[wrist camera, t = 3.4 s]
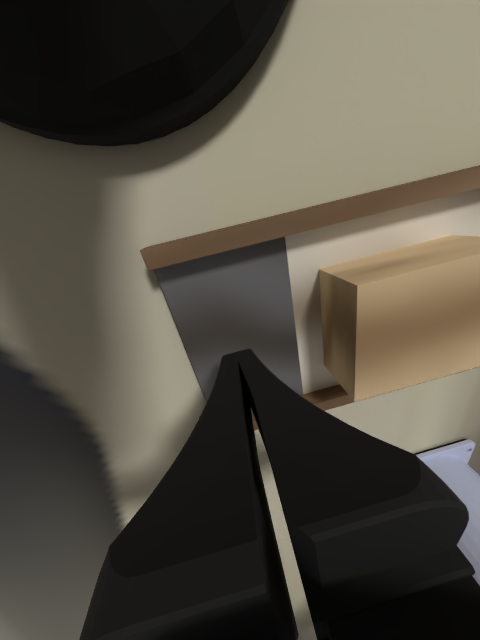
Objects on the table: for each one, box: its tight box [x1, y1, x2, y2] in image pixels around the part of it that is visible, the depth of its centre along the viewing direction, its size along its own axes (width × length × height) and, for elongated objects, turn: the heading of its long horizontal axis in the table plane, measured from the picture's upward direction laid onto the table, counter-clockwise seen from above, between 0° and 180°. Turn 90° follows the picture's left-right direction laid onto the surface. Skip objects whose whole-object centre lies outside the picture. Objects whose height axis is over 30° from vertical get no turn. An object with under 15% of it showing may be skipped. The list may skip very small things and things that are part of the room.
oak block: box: [319, 235, 480, 402], centre depth 11 cm, size 6×7×3 cm
